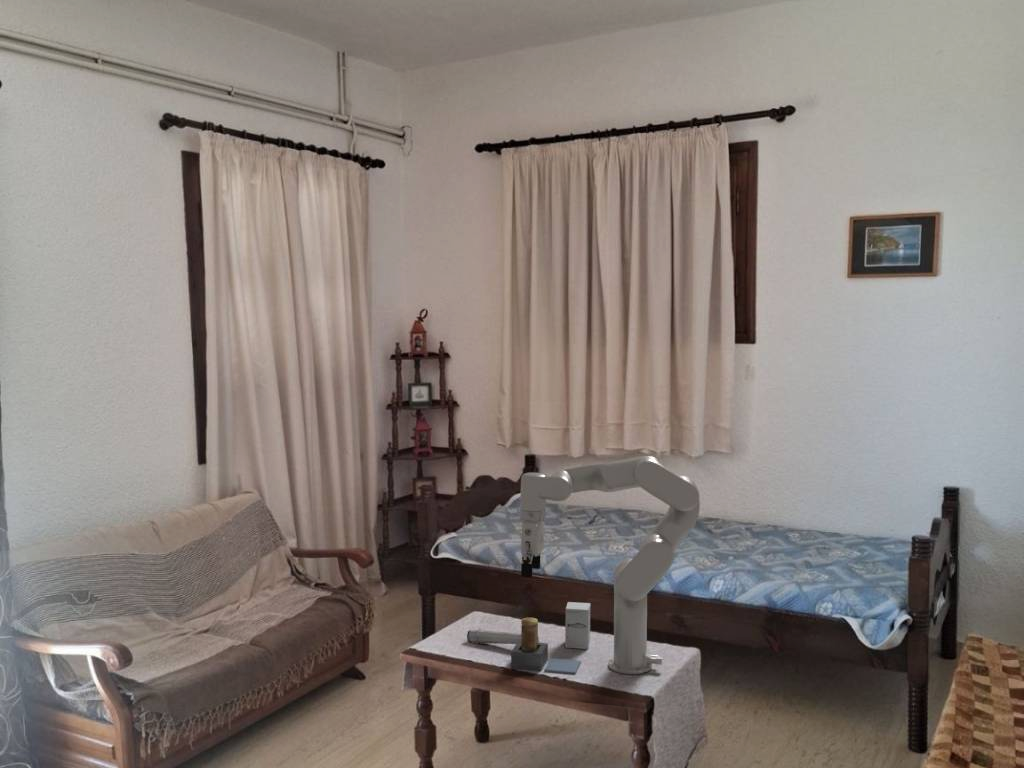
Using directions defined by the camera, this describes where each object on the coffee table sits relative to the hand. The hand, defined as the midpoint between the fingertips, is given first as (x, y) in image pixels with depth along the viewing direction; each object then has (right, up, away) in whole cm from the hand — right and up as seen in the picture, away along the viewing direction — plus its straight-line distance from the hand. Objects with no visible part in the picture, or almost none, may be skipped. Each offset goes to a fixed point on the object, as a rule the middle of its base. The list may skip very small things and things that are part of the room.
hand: (530, 572), depth 257 cm
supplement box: (+15, -26, +16) cm, 35 cm away
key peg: (0, -27, +1) cm, 27 cm away
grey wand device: (-8, -27, +14) cm, 31 cm away
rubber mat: (+9, -27, -2) cm, 29 cm away
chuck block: (0, -27, +1) cm, 27 cm away
